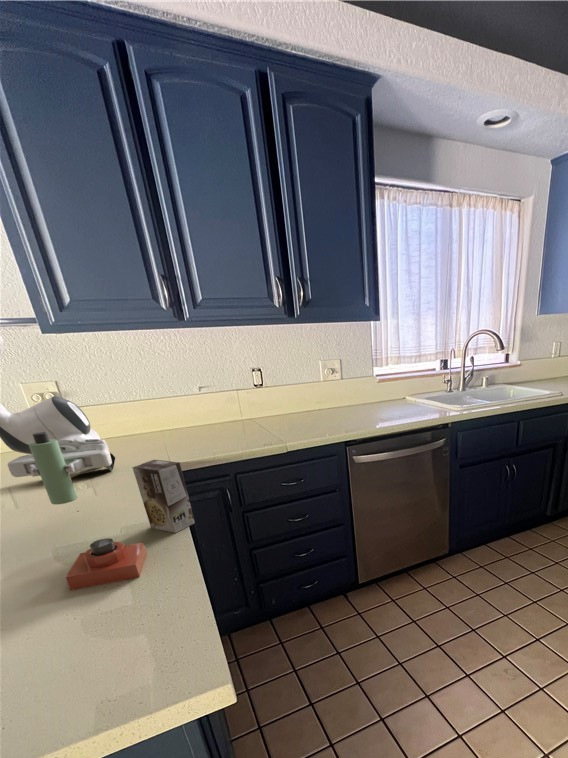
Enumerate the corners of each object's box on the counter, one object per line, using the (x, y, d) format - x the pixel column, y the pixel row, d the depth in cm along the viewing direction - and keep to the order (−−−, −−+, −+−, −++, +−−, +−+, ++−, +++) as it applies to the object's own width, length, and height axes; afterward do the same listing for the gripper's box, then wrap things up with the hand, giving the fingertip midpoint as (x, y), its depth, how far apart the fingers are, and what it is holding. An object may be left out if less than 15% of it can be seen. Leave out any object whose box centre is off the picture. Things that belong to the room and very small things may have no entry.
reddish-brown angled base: (70, 590, 82) (61, 568, 80) (84, 565, 90) (77, 544, 88) (139, 577, 85) (132, 555, 83) (147, 554, 94) (141, 534, 92)
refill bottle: (47, 506, 97) (20, 437, 91) (55, 498, 102) (30, 432, 95) (74, 502, 99) (49, 434, 92) (80, 494, 103) (57, 429, 97)
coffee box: (196, 522, 108) (181, 461, 101) (175, 533, 103) (158, 470, 96) (170, 517, 112) (154, 458, 105) (149, 528, 106) (131, 466, 100)
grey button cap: (90, 558, 84) (87, 549, 83) (95, 549, 87) (92, 540, 86) (113, 554, 85) (110, 545, 84) (117, 545, 88) (114, 536, 87)
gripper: (17, 448, 104) (-10, 463, 92) (111, 438, 110) (98, 451, 98) (26, 472, 107) (2, 490, 95) (118, 462, 113) (106, 477, 101)
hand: (52, 471), depth 96 cm, fingers closed on refill bottle, 5 cm apart
